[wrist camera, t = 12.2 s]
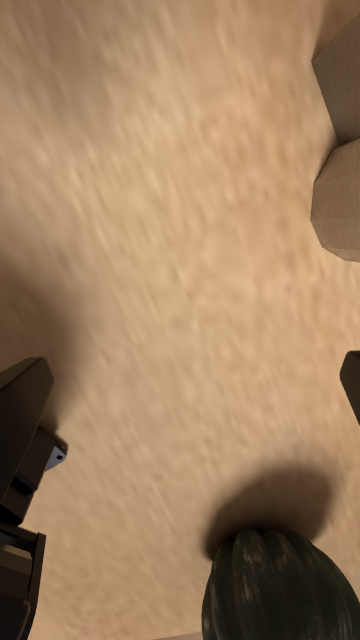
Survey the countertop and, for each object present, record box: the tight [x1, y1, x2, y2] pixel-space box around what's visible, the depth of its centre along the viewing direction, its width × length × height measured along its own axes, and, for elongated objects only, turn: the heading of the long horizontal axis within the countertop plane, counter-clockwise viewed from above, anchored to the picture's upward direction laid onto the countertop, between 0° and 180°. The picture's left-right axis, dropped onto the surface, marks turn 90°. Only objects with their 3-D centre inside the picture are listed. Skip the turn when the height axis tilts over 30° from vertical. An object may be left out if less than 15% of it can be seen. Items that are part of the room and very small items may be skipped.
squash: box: [202, 529, 360, 640], centre depth 24 cm, size 14×15×15 cm
